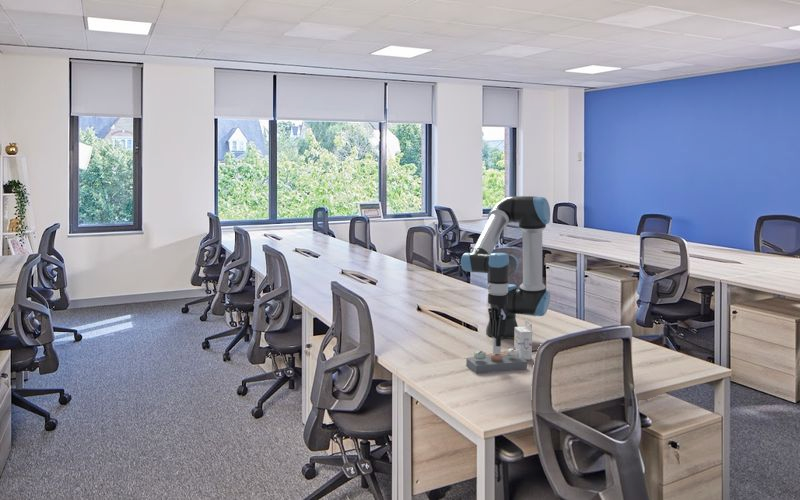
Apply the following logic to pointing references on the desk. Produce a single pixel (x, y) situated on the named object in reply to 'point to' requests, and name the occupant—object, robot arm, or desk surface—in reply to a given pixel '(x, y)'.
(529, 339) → the ink cartridge box
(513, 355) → the cream button
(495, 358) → the terracotta button
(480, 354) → the sage button
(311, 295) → the desk surface
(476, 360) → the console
